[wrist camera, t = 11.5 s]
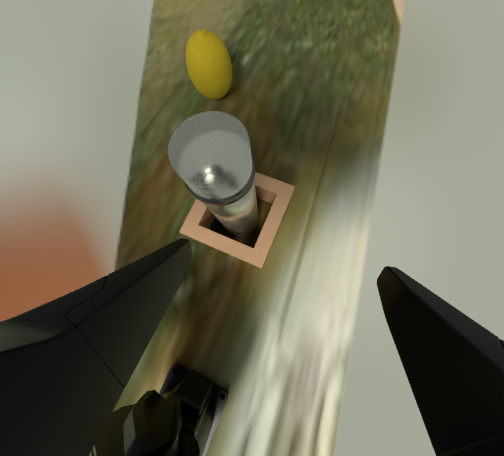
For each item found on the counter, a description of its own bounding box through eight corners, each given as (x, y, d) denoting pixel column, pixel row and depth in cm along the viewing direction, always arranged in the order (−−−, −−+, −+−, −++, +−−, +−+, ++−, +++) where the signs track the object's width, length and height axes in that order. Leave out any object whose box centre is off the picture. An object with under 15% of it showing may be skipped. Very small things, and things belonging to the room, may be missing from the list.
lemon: (238, 109, 27) (228, 45, 20) (200, 115, 28) (175, 54, 20) (234, 79, 29) (223, 7, 21) (197, 85, 29) (173, 16, 21)
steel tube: (250, 243, 23) (229, 199, 9) (216, 228, 24) (149, 169, 10) (265, 208, 24) (266, 122, 10) (231, 195, 25) (189, 99, 11)
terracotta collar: (261, 269, 22) (261, 268, 19) (191, 238, 24) (179, 232, 20) (290, 198, 24) (295, 186, 21) (223, 173, 25) (217, 157, 22)
